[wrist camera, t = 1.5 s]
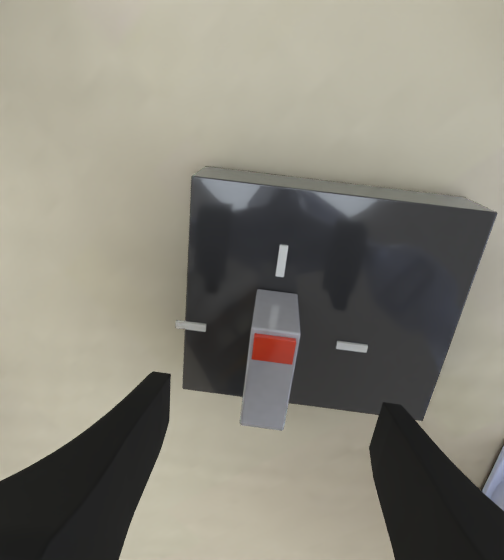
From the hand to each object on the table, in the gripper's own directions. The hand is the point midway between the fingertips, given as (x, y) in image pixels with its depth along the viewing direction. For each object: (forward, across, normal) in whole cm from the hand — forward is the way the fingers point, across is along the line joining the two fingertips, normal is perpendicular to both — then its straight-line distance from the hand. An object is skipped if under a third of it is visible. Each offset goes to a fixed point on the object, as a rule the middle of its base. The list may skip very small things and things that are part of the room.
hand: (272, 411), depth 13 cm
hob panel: (+8, -2, -1) cm, 8 cm away
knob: (+5, 0, 0) cm, 5 cm away
